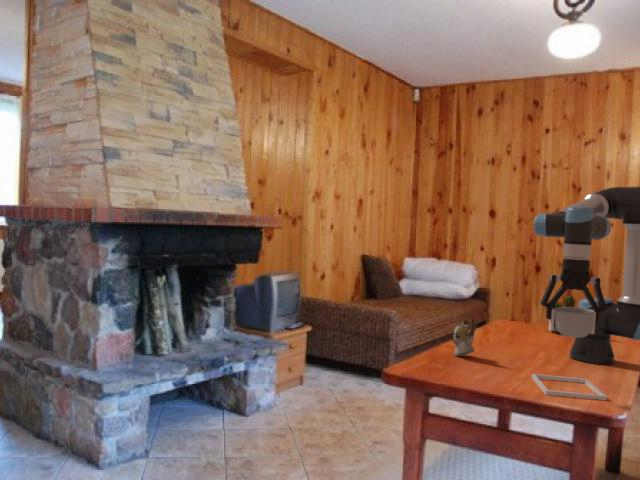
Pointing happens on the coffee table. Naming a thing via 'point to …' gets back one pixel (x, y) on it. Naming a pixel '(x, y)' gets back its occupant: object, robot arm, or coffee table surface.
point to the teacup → (574, 321)
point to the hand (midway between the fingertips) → (571, 331)
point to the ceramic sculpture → (464, 337)
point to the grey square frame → (568, 394)
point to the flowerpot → (568, 302)
